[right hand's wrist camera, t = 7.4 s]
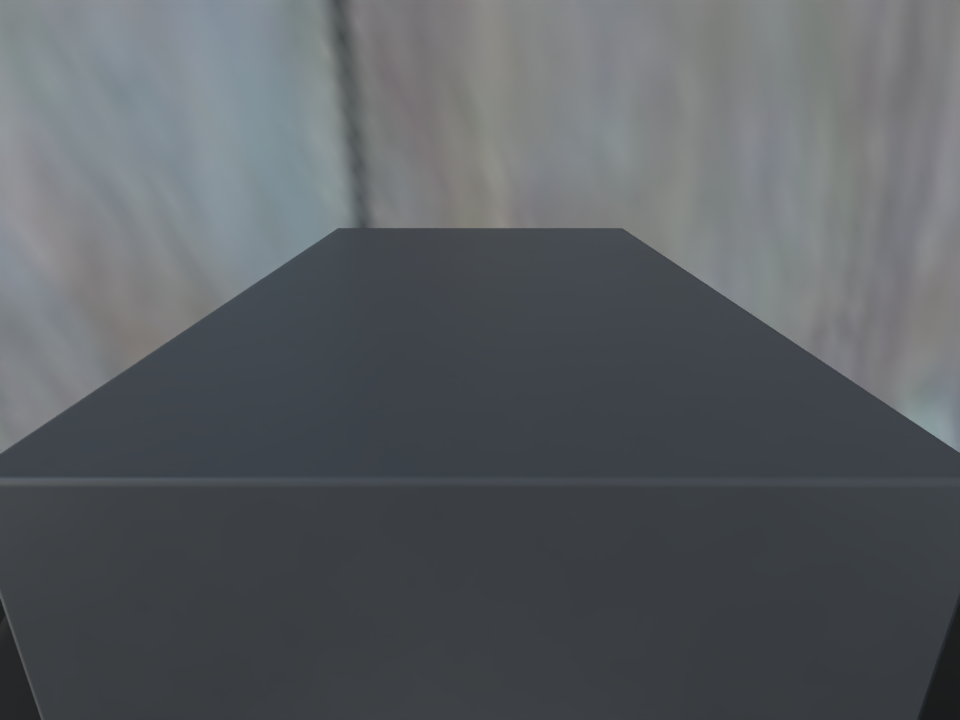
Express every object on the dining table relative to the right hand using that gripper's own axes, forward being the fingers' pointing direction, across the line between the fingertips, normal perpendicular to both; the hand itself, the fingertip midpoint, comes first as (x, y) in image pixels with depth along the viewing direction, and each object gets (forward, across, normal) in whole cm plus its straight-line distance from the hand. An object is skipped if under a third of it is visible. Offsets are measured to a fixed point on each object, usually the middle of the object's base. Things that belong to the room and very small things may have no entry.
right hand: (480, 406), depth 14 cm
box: (+1, 0, -9) cm, 9 cm away
